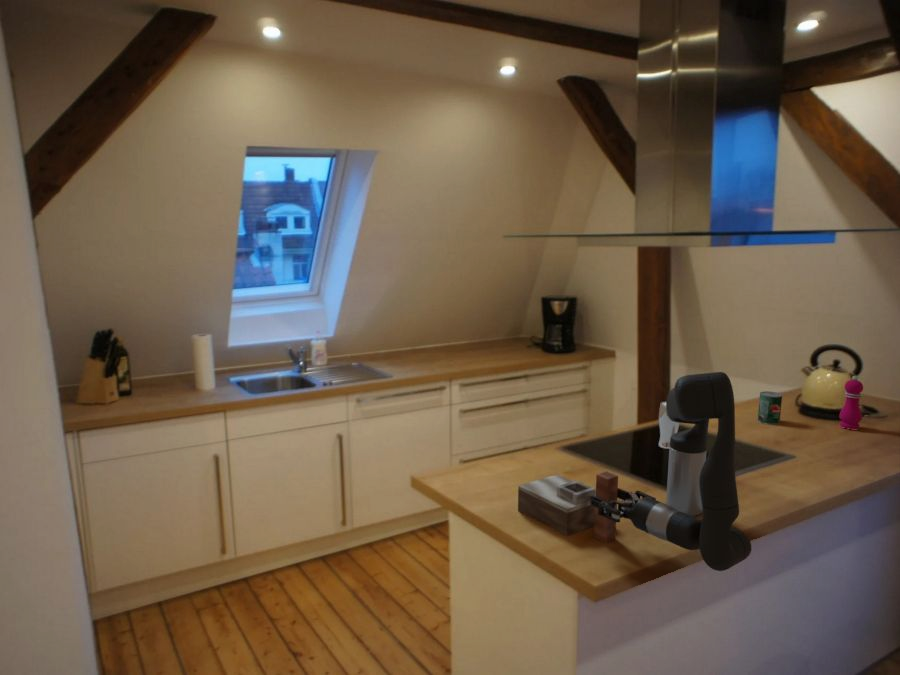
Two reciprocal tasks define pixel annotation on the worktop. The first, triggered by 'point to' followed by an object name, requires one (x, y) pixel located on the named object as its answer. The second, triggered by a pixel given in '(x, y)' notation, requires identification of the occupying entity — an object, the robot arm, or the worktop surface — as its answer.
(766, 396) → the canned tomato
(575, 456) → the worktop surface
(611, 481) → the wooden key
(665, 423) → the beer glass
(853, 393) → the pepper mill
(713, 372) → the robot arm
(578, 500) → the gray socket block
